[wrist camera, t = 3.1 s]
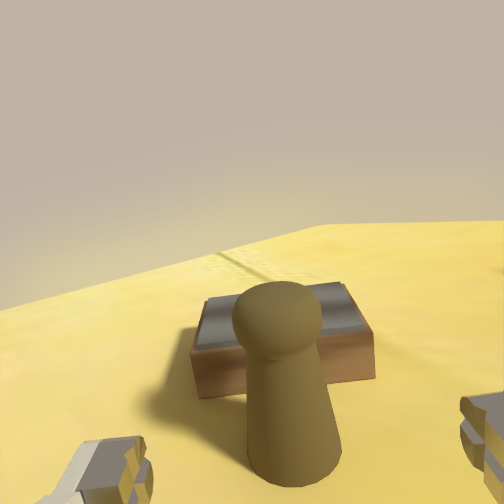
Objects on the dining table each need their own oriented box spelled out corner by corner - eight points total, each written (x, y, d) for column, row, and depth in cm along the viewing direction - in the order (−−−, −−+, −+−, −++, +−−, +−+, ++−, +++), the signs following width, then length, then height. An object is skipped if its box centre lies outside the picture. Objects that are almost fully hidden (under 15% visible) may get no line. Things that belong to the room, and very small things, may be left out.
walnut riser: (375, 378, 31) (372, 326, 30) (199, 398, 32) (188, 349, 30) (346, 319, 40) (343, 279, 39) (211, 336, 41) (204, 296, 40)
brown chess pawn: (268, 504, 22) (239, 325, 19) (235, 433, 27) (208, 286, 24) (361, 462, 24) (349, 293, 20) (312, 403, 29) (297, 263, 26)
